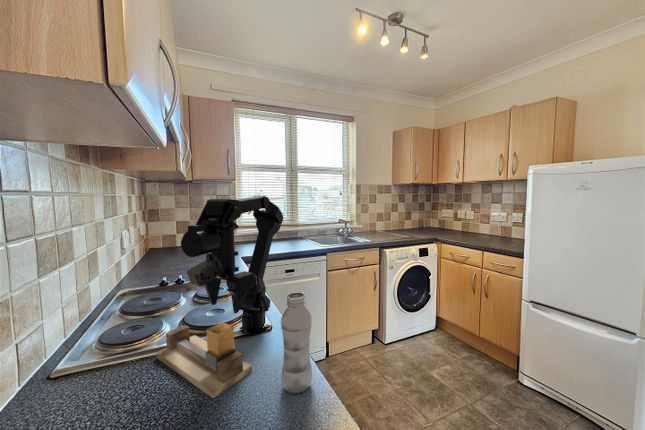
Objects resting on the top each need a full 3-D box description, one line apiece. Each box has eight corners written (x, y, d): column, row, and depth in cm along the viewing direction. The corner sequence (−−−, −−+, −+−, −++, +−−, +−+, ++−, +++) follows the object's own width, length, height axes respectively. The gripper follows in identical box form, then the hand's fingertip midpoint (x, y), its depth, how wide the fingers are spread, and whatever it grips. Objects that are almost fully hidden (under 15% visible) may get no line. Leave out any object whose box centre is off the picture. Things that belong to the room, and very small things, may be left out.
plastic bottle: (275, 386, 56) (273, 295, 55) (299, 372, 61) (298, 287, 60) (294, 403, 52) (292, 304, 50) (319, 386, 56) (318, 294, 55)
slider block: (225, 353, 63) (224, 321, 62) (236, 359, 60) (235, 325, 60) (206, 365, 59) (204, 330, 58) (216, 371, 56) (215, 335, 56)
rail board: (194, 340, 75) (194, 321, 75) (251, 371, 61) (251, 348, 61) (156, 358, 67) (155, 337, 66) (213, 398, 53) (212, 372, 53)
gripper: (171, 249, 65) (173, 311, 66) (216, 259, 55) (218, 332, 56) (211, 243, 74) (213, 297, 75) (257, 250, 64) (259, 313, 65)
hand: (224, 308), depth 68 cm, fingers open, 9 cm apart
